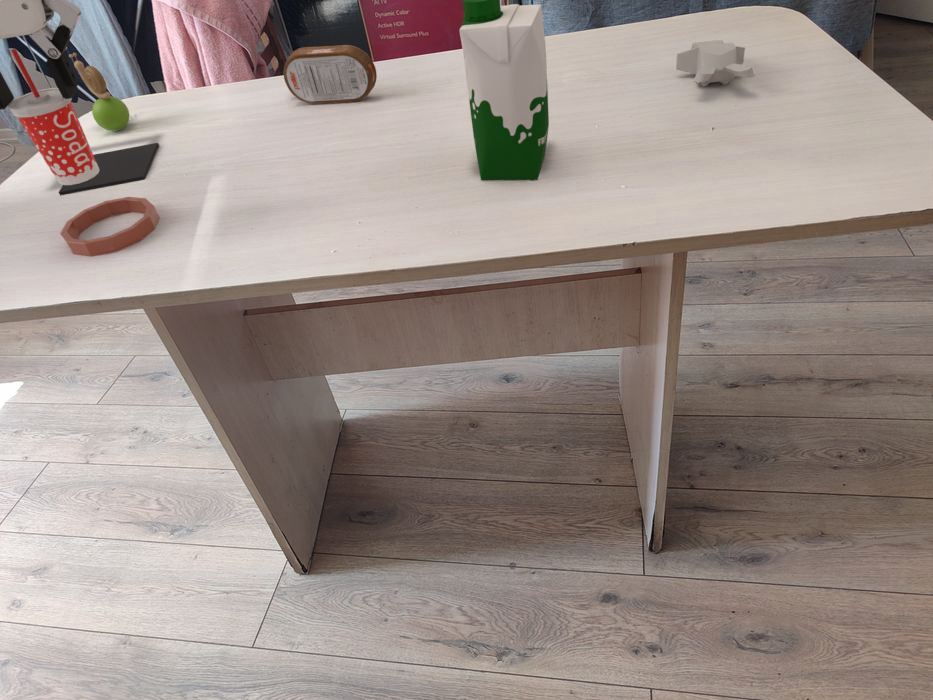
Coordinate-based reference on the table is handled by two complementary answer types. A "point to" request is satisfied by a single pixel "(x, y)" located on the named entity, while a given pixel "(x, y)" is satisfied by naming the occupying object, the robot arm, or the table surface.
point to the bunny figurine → (714, 62)
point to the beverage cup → (55, 132)
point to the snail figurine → (103, 99)
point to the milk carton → (506, 87)
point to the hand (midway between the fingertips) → (38, 98)
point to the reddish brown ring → (115, 240)
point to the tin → (330, 74)
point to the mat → (117, 168)
